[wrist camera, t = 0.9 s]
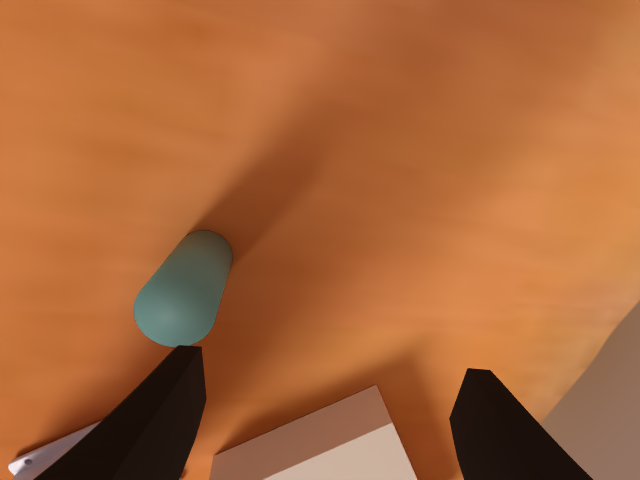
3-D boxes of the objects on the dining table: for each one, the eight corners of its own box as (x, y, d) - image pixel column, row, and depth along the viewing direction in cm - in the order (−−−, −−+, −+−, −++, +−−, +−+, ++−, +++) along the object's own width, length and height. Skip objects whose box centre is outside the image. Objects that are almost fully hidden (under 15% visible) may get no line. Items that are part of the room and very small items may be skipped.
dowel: (193, 289, 25) (159, 358, 17) (166, 243, 24) (117, 295, 16) (241, 268, 25) (229, 328, 17) (217, 221, 24) (192, 263, 16)
